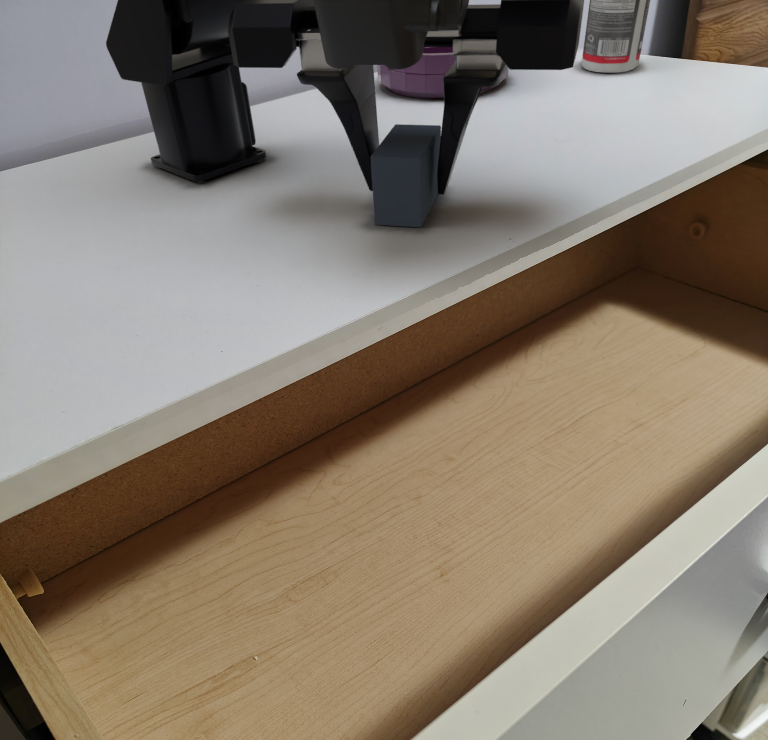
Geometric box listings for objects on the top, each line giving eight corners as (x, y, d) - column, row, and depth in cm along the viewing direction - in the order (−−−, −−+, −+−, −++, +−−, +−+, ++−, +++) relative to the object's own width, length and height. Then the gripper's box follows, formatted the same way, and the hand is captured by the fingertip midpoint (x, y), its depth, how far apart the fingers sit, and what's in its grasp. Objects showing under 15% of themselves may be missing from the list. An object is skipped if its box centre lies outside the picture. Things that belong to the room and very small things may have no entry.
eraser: (421, 227, 42) (420, 157, 39) (374, 225, 42) (370, 156, 39) (440, 191, 46) (441, 125, 43) (397, 189, 46) (395, 123, 43)
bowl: (449, 108, 59) (450, 61, 56) (352, 87, 65) (349, 44, 62) (533, 77, 64) (537, 33, 62) (437, 60, 71) (437, 20, 68)
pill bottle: (604, 57, 68) (624, -70, 61) (649, 65, 65) (675, -68, 58) (569, 68, 66) (585, -63, 59) (614, 77, 63) (637, -60, 56)
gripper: (141, -131, 29) (222, 235, 40) (597, -159, 25) (545, 256, 36) (243, -143, 36) (287, 168, 47) (606, -166, 32) (561, 179, 43)
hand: (408, 190), depth 43 cm, fingers open, 4 cm apart
